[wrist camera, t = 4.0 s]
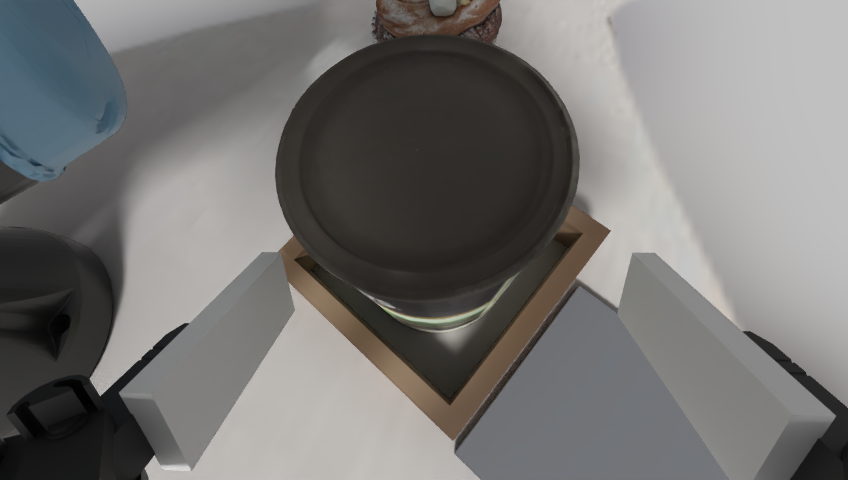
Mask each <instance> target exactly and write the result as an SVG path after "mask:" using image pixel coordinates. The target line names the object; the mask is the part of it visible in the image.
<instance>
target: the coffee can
mask: <svg viewBox="0 0 848 480" xmlns="http://www.w3.org/2000/svg"><path fill="white" fill-rule="evenodd" d="M579 160H580V156H579V149H578V141H577V136H576V132H575V128H574V125H573V123H572V120H571V117H570V115H569V113H568V111H567V109H566V107H565V105H564V103H563V102H562V100H561V99H560V97H559V95H558V94H557V92H556V91H555V90H554V89H553V87H552V86H551V85H550V83H549V82H548V81H547V80H546V79H545V78H544V77H543V76H542V75H541V74H540V73H539V72H538V71H537V70H536V69H535V68H533V67H532V66H530V65H529V64H528V63H527V62H525V61H524V60H522V59H521V58H519V57H517V56H516V55H514V54H512V53H510V52H508V51H506V50H504V49H502V48H500V47H498V46H495V45H493V44H490V43H487V42H484V41H481V40H477V39H473V38H468V37H463V36H457V35H448V34H420V35H410V36H402V37H397V38H393V39H389V40H385V41H382V42H379V43H376V44H373V45H370V46H368V47H366V48H363V49H361V50H359V51H357V52H355V53H353V54H351V55H349V56H348V57H346V58H344V59H343V60H341V61H340V62H338V63H337V64H335V65H334V66H333V67H331V68H330V69H328V70H327V71H326V72H325V73H324V74H322V75H321V76H320V77H319V78H318V79H317V80H316V81H315V82H314V83H313V84H312V85H311V86H310V87H309V88H308V89H307V90H306V92H305V93H304V94H303V95H302V96H301V98H300V99H299V101H298V102H297V104H296V105H295V108H294V109H293V110H292V112H291V115H290V117H289V119H288V121H287V123H286V125H285V127H284V130H283V133H282V136H281V140H280V143H279V147H278V153H277V157H276V168H275V179H276V189H277V194H278V199H279V203H280V206H281V208H282V211H283V214H284V217H285V219H286V221H287V223H288V225H289V227H290V229H291V231H292V233H293V234H294V236H295V238H296V239H297V241H298V242H299V243H300V244H301V246H302V247H303V248H304V250H305V251H306V252H307V254H308V255H309V256H310V257H311V258H313V259H314V260H315V261H316V262H317V263H318V264H319V265H321V266H322V267H323V268H324V269H325V270H327V271H328V272H329V273H331V274H332V275H333V276H335V277H336V278H338V279H340V280H342V281H343V282H345V283H347V284H349V285H350V286H353V287H355V288H356V289H357V290H359V291H360V292H362V293H363V294H364V295H366V296H367V297H368V298H370V299H371V300H372V301H374V302H375V303H377V304H378V305H379V306H380V307H382V308H383V310H384V311H385V312H386V313H388V314H389V315H390V316H391V317H392V318H394V319H395V320H397V321H398V322H400V323H402V324H403V325H405V326H408V327H410V328H413V329H416V330H419V331H424V332H435V333H436V332H449V331H454V330H458V329H461V328H463V327H466V326H468V325H470V324H472V323H474V322H475V321H477V320H479V319H480V318H482V317H483V316H484V315H485V314H486V313H487V312H488V311H489V310H490V309H491V308H492V307H493V306H494V305H495V303H496V302H497V300H498V299H499V297H500V295H501V294H502V293H503V292H504V291H505V290H506V289H507V287H508V286H509V285H510V283H511V282H512V281H513V280H514V279H515V277H516V276H517V275H518V274H519V273H520V271H521V270H522V269H524V268H525V267H526V266H527V265H528V264H529V263H531V262H532V261H533V260H534V259H535V258H536V257H537V256H538V255H539V254H540V253H541V252H542V251H543V250H544V249H545V248H546V247H547V246H548V245H549V244H550V242H551V241H552V239H553V238H554V236H555V235H556V233H557V232H558V230H559V229H560V227H561V226H562V224H563V223H564V221H565V219H566V217H567V215H568V212H569V210H570V207H571V204H572V202H573V199H574V197H575V193H576V189H577V184H578V178H579Z"/></svg>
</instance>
